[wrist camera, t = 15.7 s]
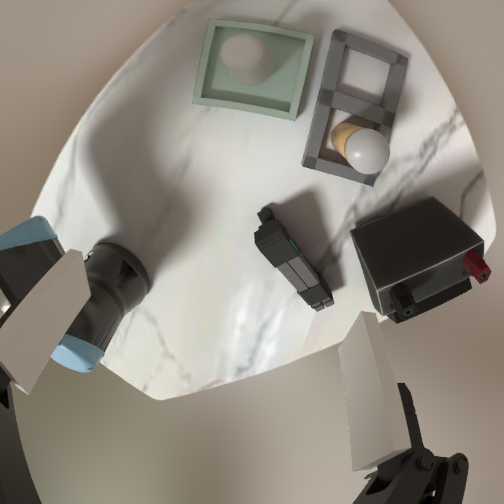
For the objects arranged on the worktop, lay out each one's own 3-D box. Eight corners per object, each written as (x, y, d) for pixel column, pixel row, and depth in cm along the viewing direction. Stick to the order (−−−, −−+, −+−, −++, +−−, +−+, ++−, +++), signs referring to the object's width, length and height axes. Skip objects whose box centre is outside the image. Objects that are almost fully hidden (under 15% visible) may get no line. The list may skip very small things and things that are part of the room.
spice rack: (301, 163, 38) (309, 184, 29) (332, 32, 26) (351, 12, 18) (368, 182, 38) (393, 208, 29) (402, 59, 27) (437, 53, 18)
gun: (272, 198, 41) (286, 246, 34) (322, 261, 54) (337, 303, 47) (248, 212, 42) (256, 261, 36) (303, 271, 55) (315, 313, 49)
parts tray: (196, 103, 34) (192, 103, 32) (212, 23, 27) (209, 19, 25) (293, 120, 34) (295, 121, 32) (312, 38, 27) (314, 35, 26)
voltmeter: (369, 295, 49) (397, 380, 33) (347, 226, 42) (385, 313, 25) (438, 265, 45) (485, 338, 28) (429, 192, 37) (500, 257, 20)
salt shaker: (269, 90, 32) (266, 84, 21) (227, 83, 32) (204, 75, 21) (278, 53, 29) (279, 29, 18) (236, 45, 28) (217, 20, 17)
